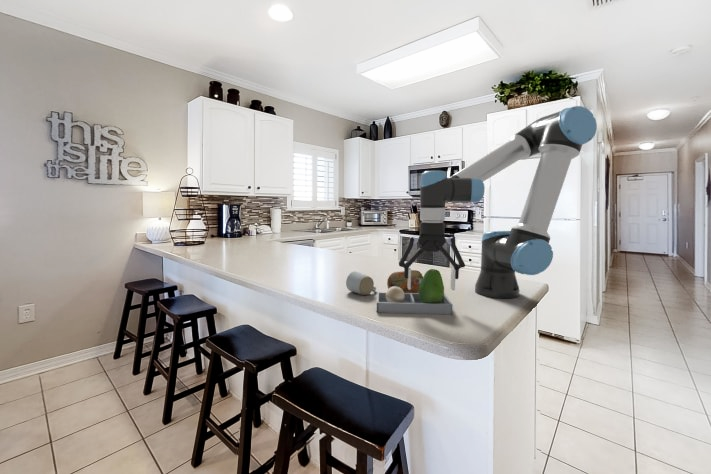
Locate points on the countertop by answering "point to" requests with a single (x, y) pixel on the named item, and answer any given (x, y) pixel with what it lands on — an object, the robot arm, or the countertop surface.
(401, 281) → the tin
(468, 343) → the countertop surface
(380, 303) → the grey divided tray
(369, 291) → the ceramic mug
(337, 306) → the countertop surface
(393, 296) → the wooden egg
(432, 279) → the avocado
